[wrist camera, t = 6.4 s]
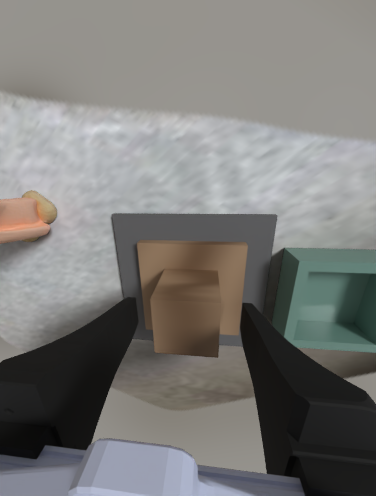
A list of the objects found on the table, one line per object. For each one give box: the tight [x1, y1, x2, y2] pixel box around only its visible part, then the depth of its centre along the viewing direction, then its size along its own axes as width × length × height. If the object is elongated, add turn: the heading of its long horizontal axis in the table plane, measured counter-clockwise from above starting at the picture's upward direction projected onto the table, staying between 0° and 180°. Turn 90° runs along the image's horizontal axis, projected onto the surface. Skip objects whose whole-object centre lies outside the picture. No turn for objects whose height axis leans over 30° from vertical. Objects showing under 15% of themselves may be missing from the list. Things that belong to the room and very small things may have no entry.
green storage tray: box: [272, 248, 376, 353], centre depth 14 cm, size 7×7×2 cm
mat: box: [112, 214, 277, 347], centre depth 16 cm, size 12×12×1 cm
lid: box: [137, 240, 248, 358], centre depth 13 cm, size 8×8×5 cm
